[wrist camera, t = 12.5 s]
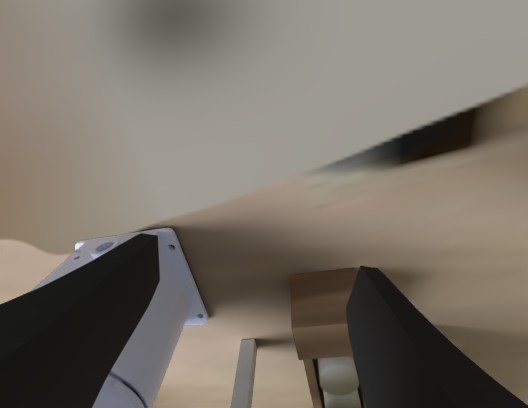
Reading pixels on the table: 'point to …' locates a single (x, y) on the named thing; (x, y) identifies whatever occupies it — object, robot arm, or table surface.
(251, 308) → the table surface
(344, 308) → the wooden slotted rack
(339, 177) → the table surface
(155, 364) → the robot arm
